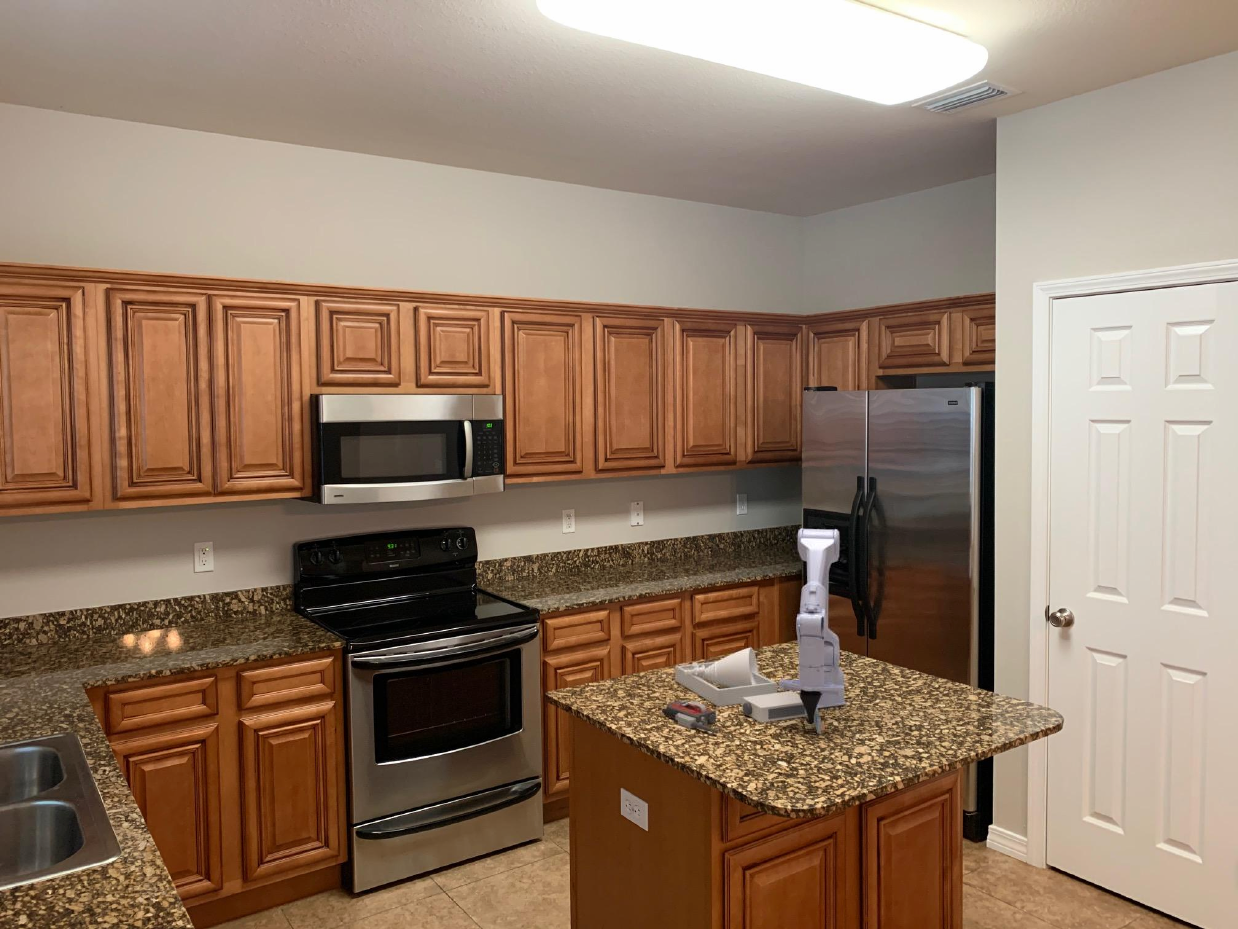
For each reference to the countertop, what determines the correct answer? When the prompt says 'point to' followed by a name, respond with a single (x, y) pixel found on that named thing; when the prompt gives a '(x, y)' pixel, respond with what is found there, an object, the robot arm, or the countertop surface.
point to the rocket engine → (729, 670)
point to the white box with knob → (774, 706)
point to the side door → (818, 722)
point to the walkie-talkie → (691, 714)
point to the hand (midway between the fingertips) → (811, 723)
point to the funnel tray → (723, 695)
